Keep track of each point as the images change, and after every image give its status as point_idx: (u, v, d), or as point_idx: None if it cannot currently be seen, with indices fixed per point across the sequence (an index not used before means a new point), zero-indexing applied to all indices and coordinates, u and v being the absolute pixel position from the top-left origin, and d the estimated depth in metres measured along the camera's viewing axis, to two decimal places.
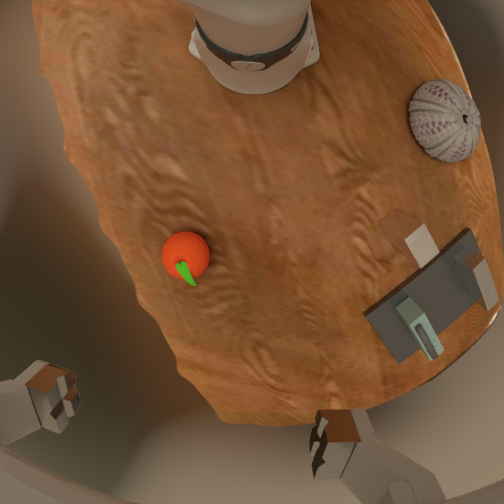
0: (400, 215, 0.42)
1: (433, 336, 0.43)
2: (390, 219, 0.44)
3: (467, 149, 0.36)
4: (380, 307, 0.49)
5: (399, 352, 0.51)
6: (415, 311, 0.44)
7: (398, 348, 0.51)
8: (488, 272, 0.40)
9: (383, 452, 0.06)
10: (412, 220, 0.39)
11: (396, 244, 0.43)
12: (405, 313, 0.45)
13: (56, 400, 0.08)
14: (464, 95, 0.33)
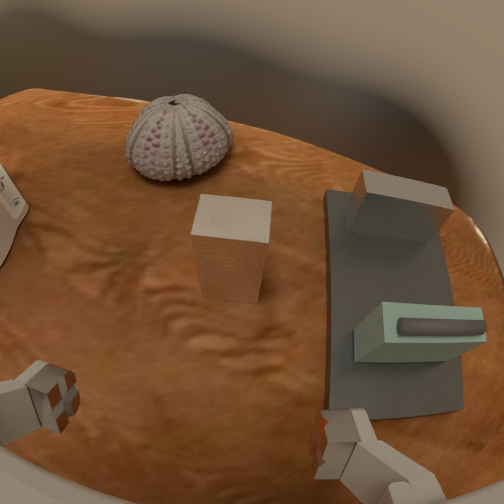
0: None
1: (442, 311, 0.21)
2: None
3: (210, 123, 0.33)
4: (333, 386, 0.23)
5: (443, 399, 0.23)
6: (373, 321, 0.22)
7: (435, 397, 0.23)
8: (389, 177, 0.28)
9: (383, 451, 0.06)
10: None
11: (237, 284, 0.26)
12: (368, 343, 0.22)
13: (56, 400, 0.08)
14: None
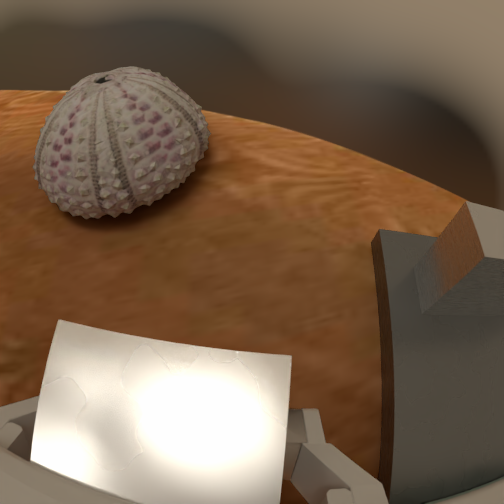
0: None
1: None
2: None
3: (163, 110, 0.17)
4: None
5: None
6: None
7: None
8: None
9: (328, 455, 0.06)
10: None
11: None
12: None
13: None
14: None
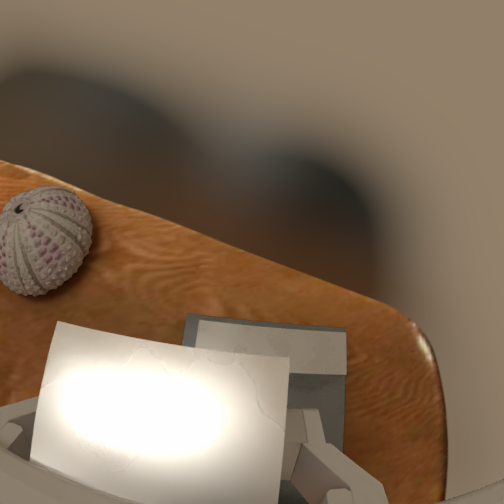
0: None
1: None
2: None
3: (52, 234, 0.25)
4: None
5: None
6: None
7: None
8: (242, 329, 0.20)
9: (329, 455, 0.06)
10: None
11: None
12: None
13: None
14: (23, 192, 0.27)
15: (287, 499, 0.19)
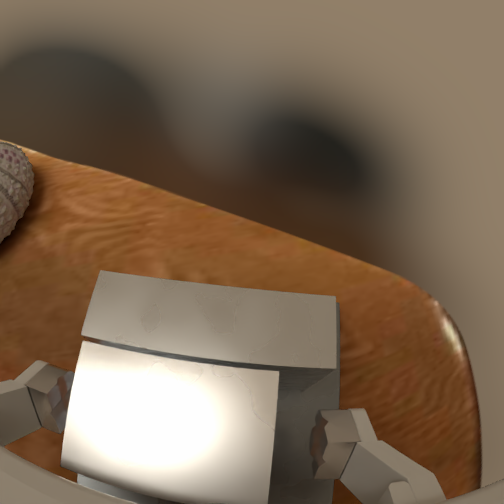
0: None
1: None
2: None
3: None
4: None
5: None
6: None
7: None
8: (160, 285, 0.12)
9: (383, 451, 0.06)
10: None
11: None
12: None
13: (56, 400, 0.08)
14: None
15: None
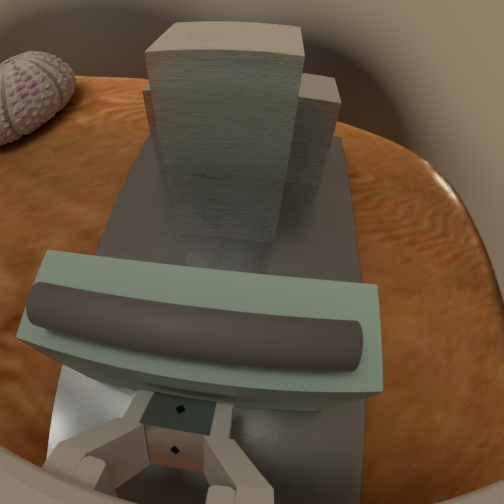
0: None
1: (209, 284, 0.08)
2: None
3: (34, 73, 0.20)
4: (56, 425, 0.11)
5: None
6: None
7: (277, 500, 0.10)
8: None
9: (226, 450, 0.06)
10: None
11: (240, 191, 0.14)
12: None
13: None
14: None
15: None
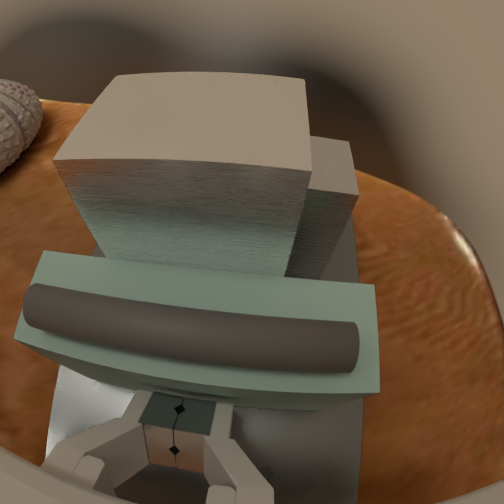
0: None
1: (205, 285, 0.08)
2: None
3: None
4: None
5: None
6: None
7: None
8: None
9: (226, 450, 0.06)
10: None
11: None
12: None
13: None
14: None
15: None
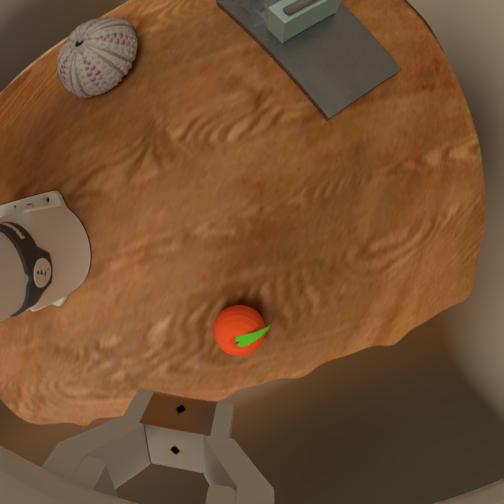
0: None
1: None
2: None
3: (113, 30, 0.31)
4: (316, 100, 0.37)
5: (383, 69, 0.35)
6: (272, 18, 0.30)
7: (377, 71, 0.35)
8: None
9: (227, 450, 0.06)
10: None
11: None
12: (279, 29, 0.32)
13: None
14: (63, 46, 0.31)
15: (341, 35, 0.34)
